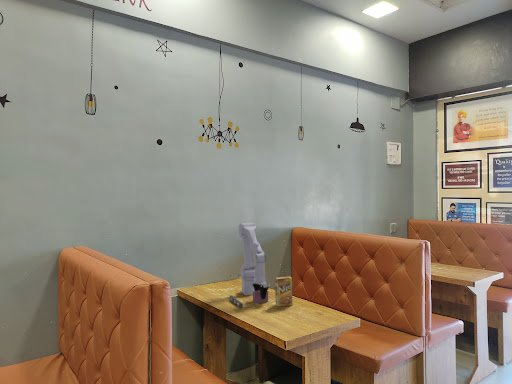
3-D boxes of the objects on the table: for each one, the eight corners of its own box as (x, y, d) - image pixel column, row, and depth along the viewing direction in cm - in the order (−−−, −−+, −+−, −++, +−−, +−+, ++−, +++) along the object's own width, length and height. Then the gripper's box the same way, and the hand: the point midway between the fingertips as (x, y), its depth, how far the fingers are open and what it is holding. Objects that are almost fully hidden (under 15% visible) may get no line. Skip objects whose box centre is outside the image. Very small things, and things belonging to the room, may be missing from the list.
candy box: (277, 307, 197) (277, 278, 197) (275, 304, 201) (274, 277, 201) (292, 305, 200) (292, 277, 200) (290, 303, 204) (289, 275, 204)
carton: (252, 301, 208) (252, 291, 208) (265, 299, 211) (265, 289, 211) (255, 303, 204) (255, 293, 204) (268, 301, 208) (268, 291, 208)
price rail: (229, 299, 213) (229, 295, 213) (231, 299, 213) (231, 295, 213) (240, 308, 196) (240, 303, 196) (242, 307, 197) (242, 303, 197)
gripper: (248, 272, 213) (249, 295, 213) (258, 277, 200) (259, 301, 199) (259, 270, 216) (260, 293, 216) (270, 275, 202) (270, 299, 202)
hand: (260, 297), depth 208 cm, fingers open, 7 cm apart
